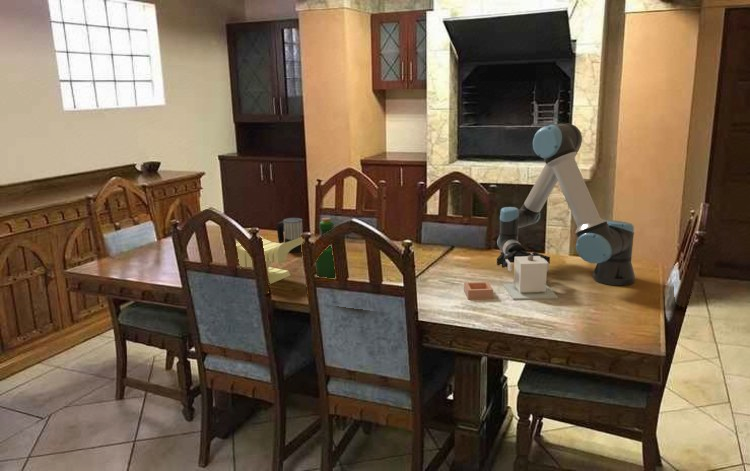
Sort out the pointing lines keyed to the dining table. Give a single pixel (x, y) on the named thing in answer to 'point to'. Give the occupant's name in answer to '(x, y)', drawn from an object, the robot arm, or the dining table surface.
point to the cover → (530, 274)
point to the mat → (521, 296)
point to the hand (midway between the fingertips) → (529, 267)
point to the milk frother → (290, 231)
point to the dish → (478, 290)
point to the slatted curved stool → (269, 256)
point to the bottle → (325, 253)
